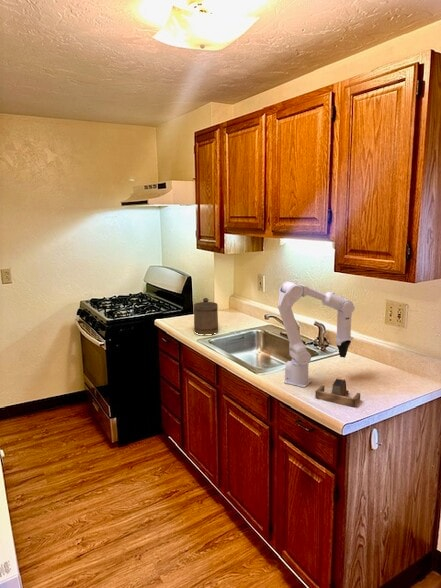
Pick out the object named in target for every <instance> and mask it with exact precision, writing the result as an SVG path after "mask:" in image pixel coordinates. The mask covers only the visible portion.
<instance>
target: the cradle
mask: <svg viewBox="0 0 441 588" xmlns="http://www.w3.org/2000/svg"><path fill="white" fill-rule="evenodd" d="M325 387H326V386H325V385H324V384H321V385H320V386H318V388H317V389H316V390H315V397H314V399H315V400H321V401H326V402H329V403H334V404H338V405H342V406H346V407H351V408H356V407H357V406H358V405H359V403H360V401H361V393H360V392H356V394H355V395H354V396H353V397H348V396H341V395H336V394H332V392H331V393H330V392H327V391H325Z"/></svg>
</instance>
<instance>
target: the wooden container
mask: <svg viewBox="0 0 441 588" xmlns="http://www.w3.org/2000/svg"><path fill="white" fill-rule="evenodd" d="M218 309H219V308H218V303H216V302H213V301H212V302H211V301H209V299H208V298H207V297H205V298H203V299H202V301H201V302H197V303H194V305H193V327H194V328H193V331H195V332H196V333H198V334H214V333H217V332H218V333H219V318H218V316H219V315H218V313H219V311H218ZM218 333H217V334H218Z"/></svg>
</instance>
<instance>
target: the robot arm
mask: <svg viewBox="0 0 441 588" xmlns="http://www.w3.org/2000/svg"><path fill="white" fill-rule="evenodd" d="M278 290H279V291H278V292H279V294H278V301H277V309H278V311H279V312H278V313H279V314H280V317H281V321H282V323H283V326H284V330H285V332H286V336H287V338H288V341H289V344H288V346H289V351H288V353H289V357H291V360H287V362H286V363H285V367H284V382H283V383H284V384H287V385H291V386H292V385H293V386H296V387H300V388H306V387H307V386H308V385H309V384H310V383H312V379H309V363H310V362H311V360H312V355H311V353H310V352H309V351H308V350H307V346H305V343H303V339H302V337H301V334H300V331H299V328H298V324H297V322H296V318H295V316H294V313H293V310H292V308H293V306H294V305H295V303H296V302H298V301H299V300H301V298H302V297H303V298H304V297H307V296H309V297H311V298H314V299H316V300H320V301H321V303H322V305H324V306H326V307H328V308H330V309H334V310H337V315H336V316H337V317H336V318H337V319H336V337H335V339H336V340H335V345H336V347H337V350H338V354H339V357H340V358H346V356H347V354H348V350H349V347H350V345H351V343H352V341H353V340H354V336H353V337H352V336H351V335H352V333H351V332H352V331H351V330H352V314H353V312H354V311H355V306H354V302H352V301H351V300H349V299H347V298H345V297H344V296H343V295H342V296H339V295H337V294H336V293H335V292H334V291H330V292H329V291H327V292H322V291H319V290H317V289H314V288H313V287H310V286H307V285H305V284H302V283H298V282H293V281H291V280H286V281H284V282H283V283H282V284H281V286H280V288H279V289H278Z"/></svg>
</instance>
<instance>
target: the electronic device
mask: <svg viewBox="0 0 441 588" xmlns="http://www.w3.org/2000/svg"><path fill="white" fill-rule="evenodd" d="M331 387H332V388H331V393H332V394H336V395H341V396H345V397H347V395H348V394H349V390H348V389H347V381H346V379H345V378H342V377H337V378H335V380H334V381H333V383H332V386H331Z"/></svg>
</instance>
